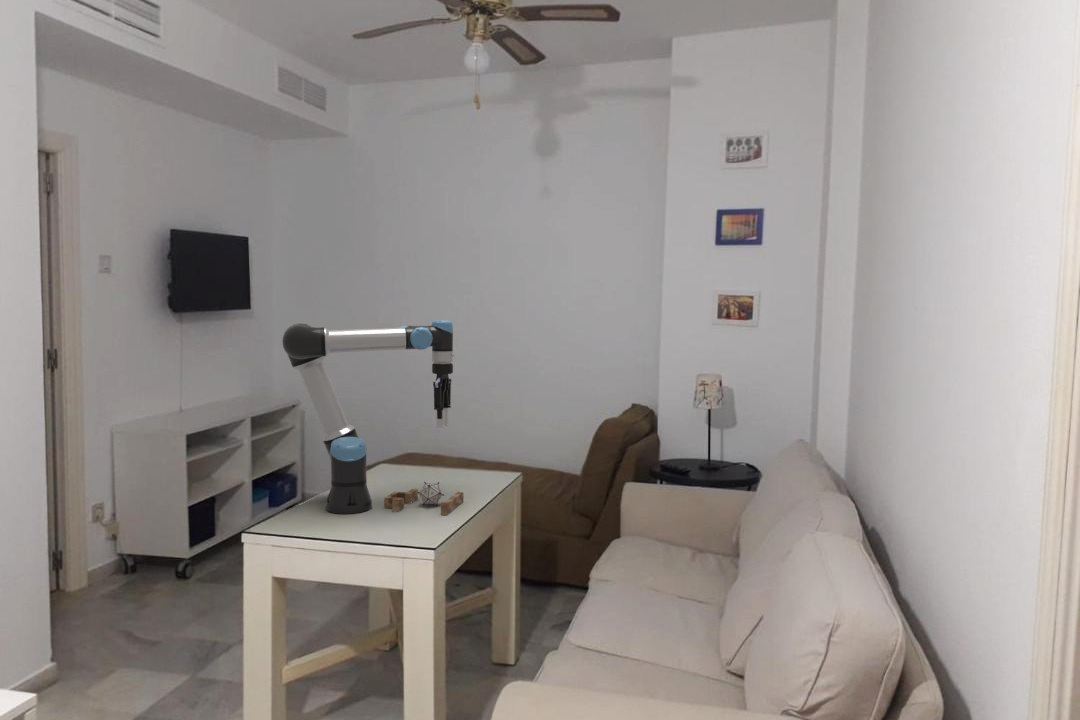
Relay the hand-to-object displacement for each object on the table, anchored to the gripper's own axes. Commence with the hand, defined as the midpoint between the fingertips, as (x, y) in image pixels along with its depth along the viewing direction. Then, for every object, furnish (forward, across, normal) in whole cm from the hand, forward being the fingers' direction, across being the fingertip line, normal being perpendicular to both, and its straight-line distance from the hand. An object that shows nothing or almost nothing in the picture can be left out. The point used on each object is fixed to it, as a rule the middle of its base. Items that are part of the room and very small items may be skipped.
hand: (442, 426), depth 284 cm
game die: (+25, -18, -2) cm, 31 cm away
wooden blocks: (+25, -20, 0) cm, 31 cm away
